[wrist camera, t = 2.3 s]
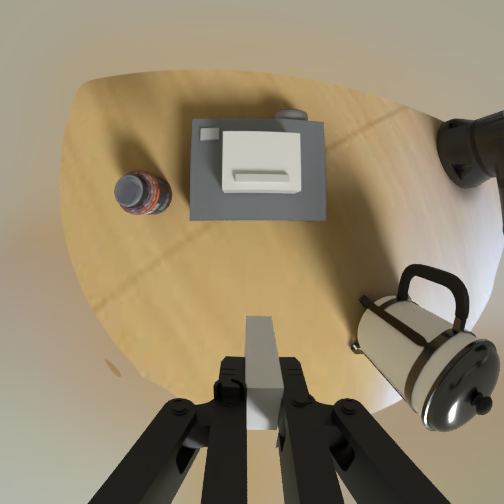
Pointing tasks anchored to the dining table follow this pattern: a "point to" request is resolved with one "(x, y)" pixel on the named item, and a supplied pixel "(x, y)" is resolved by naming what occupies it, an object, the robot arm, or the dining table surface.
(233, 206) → the gray box
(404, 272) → the coffee press
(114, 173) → the dining table surface
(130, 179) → the supplement bottle
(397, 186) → the dining table surface
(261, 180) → the hatch door
